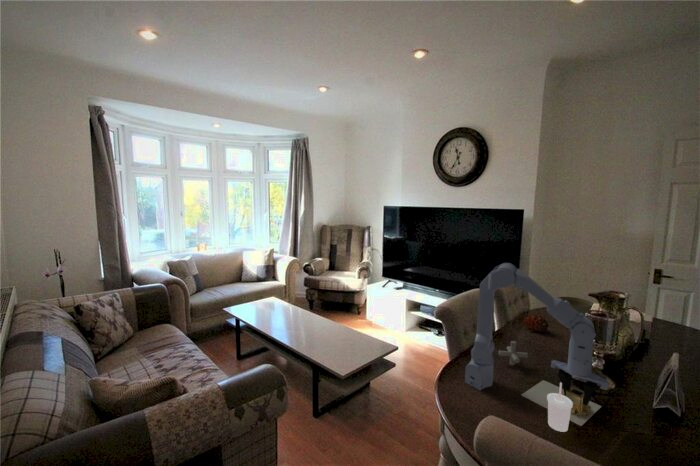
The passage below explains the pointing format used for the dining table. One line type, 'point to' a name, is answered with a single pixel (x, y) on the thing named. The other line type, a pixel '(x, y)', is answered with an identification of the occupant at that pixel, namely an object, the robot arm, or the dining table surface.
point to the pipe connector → (513, 353)
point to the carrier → (544, 388)
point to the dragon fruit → (536, 323)
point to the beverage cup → (559, 410)
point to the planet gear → (578, 401)
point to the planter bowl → (578, 304)
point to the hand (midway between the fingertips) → (576, 399)
